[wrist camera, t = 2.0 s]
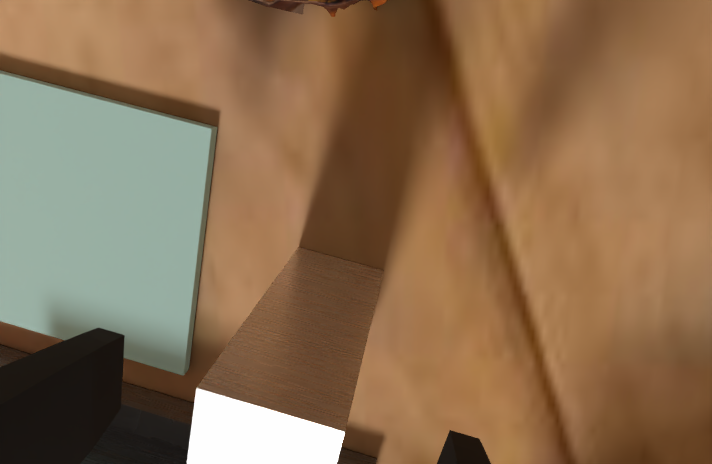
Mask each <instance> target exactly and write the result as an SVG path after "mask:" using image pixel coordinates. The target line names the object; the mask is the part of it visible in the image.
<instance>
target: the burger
mask: <svg viewBox="0 0 712 464" xmlns="http://www.w3.org/2000/svg"><path fill="white" fill-rule="evenodd" d="M250 1H253V2H255V3H258V4H261V5H264V6H267V7H272V8H277V9H282V10H286V11H290V12H294V13H299V14H303V8H304V4H315V5H319V6H322V7H324V8H325V9H327V11H328V12H329V13H330V15H331V16H332V17H334V16H335V13H336V11H337V9H338V8H341V9H345V8H347V7H349V6H350V5H352V4H355V3H357V2H359V1H361V0H250ZM369 1H370V2H371V3H372V5H373V7H374V10H377V6H380V5H382V4H383V3H385V2H386V1H388V0H369Z"/></svg>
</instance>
